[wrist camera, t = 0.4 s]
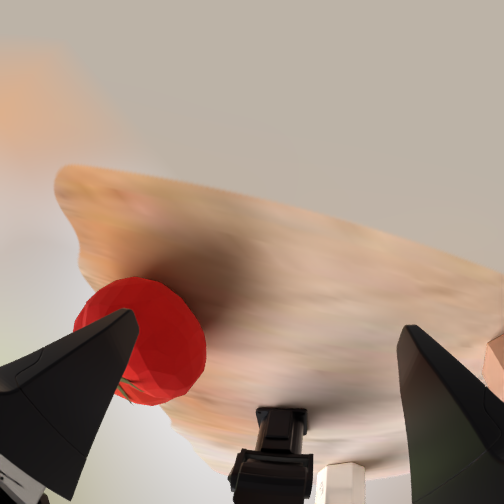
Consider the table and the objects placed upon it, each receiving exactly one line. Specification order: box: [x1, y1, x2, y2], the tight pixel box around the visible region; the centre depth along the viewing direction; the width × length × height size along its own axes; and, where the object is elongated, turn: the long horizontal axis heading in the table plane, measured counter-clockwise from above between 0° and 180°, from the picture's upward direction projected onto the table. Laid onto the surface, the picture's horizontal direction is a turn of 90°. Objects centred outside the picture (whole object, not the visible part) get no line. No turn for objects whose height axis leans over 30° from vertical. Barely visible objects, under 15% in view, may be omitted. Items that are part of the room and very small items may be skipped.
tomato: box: [73, 277, 206, 406], centre depth 23 cm, size 13×12×11 cm
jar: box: [315, 462, 365, 504], centre depth 32 cm, size 9×8×12 cm
